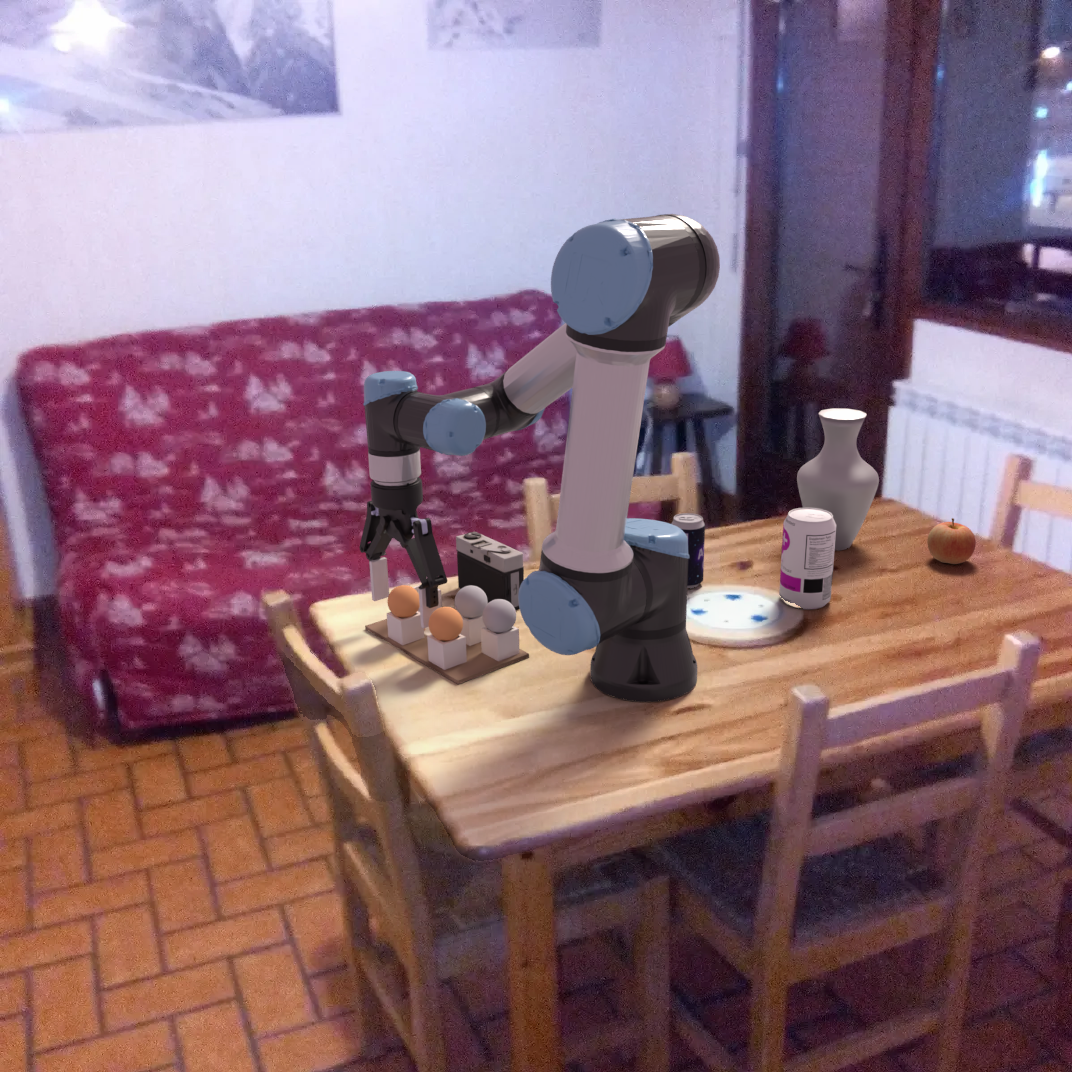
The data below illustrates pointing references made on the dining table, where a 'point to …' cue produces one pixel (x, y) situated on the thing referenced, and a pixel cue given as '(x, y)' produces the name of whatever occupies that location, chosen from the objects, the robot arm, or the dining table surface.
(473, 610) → the grey ball
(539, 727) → the dining table surface
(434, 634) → the orange ball
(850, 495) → the vase
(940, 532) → the apple
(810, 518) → the supplement can
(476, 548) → the camera
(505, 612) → the grey ball
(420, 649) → the rack board
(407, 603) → the orange ball
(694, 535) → the beverage can
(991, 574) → the dining table surface
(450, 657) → the tubes
